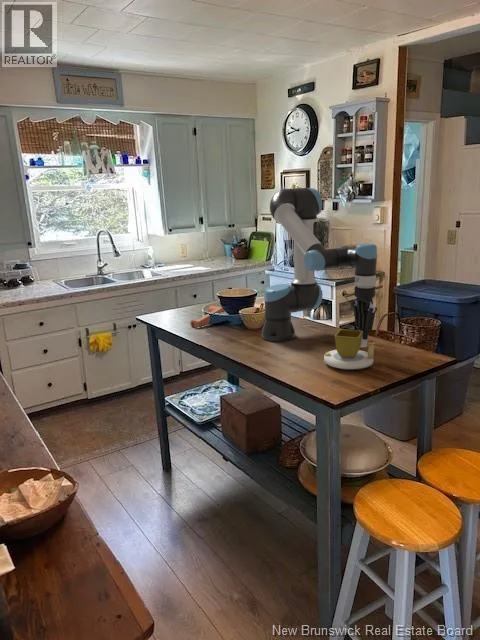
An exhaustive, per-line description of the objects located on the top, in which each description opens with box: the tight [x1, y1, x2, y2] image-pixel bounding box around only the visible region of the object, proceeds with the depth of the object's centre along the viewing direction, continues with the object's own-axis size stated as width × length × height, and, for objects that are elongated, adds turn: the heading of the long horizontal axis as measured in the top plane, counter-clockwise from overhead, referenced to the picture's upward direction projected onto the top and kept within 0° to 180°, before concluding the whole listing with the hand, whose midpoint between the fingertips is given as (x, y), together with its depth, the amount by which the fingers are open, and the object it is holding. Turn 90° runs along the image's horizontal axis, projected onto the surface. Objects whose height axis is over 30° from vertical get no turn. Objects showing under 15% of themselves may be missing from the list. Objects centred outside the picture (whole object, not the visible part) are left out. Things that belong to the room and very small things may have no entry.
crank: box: [189, 305, 224, 328], centre depth 243 cm, size 20×8×8 cm, turn 133°
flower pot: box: [334, 329, 363, 358], centre depth 177 cm, size 9×9×9 cm
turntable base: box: [333, 367, 364, 371], centre depth 178 cm, size 13×13×1 cm
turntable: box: [323, 343, 375, 370], centre depth 177 cm, size 18×18×7 cm
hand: (362, 346), depth 182 cm, fingers closed
